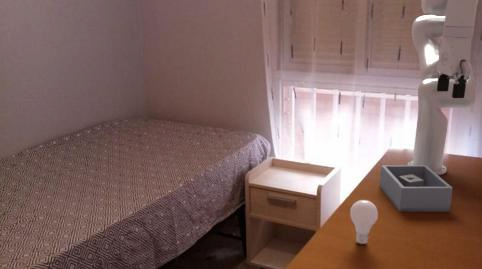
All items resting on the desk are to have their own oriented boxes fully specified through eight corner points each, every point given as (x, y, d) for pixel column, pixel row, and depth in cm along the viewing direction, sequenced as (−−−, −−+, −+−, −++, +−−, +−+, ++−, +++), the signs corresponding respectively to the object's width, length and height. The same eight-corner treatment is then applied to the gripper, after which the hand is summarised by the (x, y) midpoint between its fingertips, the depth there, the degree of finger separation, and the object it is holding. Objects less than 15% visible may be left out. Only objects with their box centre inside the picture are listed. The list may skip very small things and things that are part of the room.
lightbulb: (375, 239, 111) (379, 197, 108) (374, 252, 105) (378, 208, 102) (349, 234, 113) (352, 194, 110) (346, 247, 107) (349, 204, 104)
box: (379, 186, 143) (381, 165, 141) (423, 186, 143) (426, 165, 141) (399, 211, 126) (401, 188, 124) (449, 211, 126) (452, 188, 124)
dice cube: (396, 191, 136) (398, 176, 135) (410, 189, 138) (412, 174, 136) (407, 198, 132) (409, 182, 130) (422, 196, 133) (424, 180, 132)
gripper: (431, 31, 133) (424, 88, 138) (459, 35, 117) (450, 100, 122) (456, 31, 133) (449, 89, 138) (488, 35, 117) (478, 100, 122)
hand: (449, 94), depth 130 cm, fingers open, 9 cm apart
